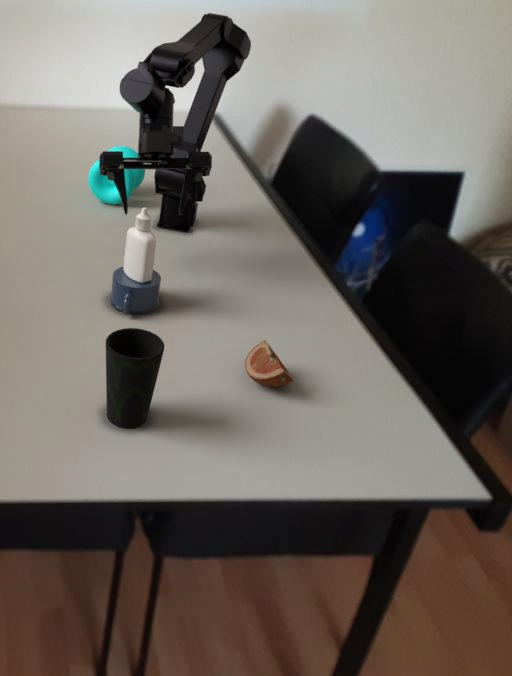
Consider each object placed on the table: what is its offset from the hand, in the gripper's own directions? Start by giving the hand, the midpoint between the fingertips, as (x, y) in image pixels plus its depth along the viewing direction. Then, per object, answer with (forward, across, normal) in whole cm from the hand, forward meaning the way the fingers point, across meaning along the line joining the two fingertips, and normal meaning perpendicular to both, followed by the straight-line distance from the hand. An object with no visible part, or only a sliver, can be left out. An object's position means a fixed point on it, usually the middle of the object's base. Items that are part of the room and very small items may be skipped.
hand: (153, 214), depth 144 cm
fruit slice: (+29, +17, -16) cm, 37 cm away
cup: (+34, -3, -26) cm, 43 cm away
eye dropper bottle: (+11, -2, -3) cm, 12 cm away
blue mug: (+15, -3, 0) cm, 15 cm away
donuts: (-11, -8, +36) cm, 39 cm away
